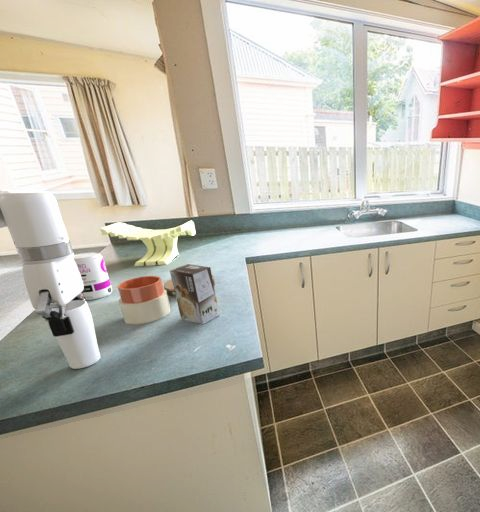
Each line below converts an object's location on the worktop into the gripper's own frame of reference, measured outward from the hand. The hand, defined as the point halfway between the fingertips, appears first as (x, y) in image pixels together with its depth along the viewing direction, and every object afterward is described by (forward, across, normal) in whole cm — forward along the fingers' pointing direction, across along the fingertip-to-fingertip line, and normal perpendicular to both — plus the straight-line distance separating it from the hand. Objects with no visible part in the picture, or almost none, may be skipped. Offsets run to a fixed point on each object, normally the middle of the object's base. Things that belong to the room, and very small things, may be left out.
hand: (73, 325), depth 67 cm
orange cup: (+10, -22, +7) cm, 25 cm away
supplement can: (+10, -45, -13) cm, 48 cm away
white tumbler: (+10, 0, 0) cm, 10 cm away
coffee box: (+10, -14, +22) cm, 28 cm away
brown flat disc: (+10, -40, +16) cm, 44 cm away
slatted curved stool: (+10, -83, -3) cm, 84 cm away
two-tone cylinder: (+10, -22, +7) cm, 25 cm away
